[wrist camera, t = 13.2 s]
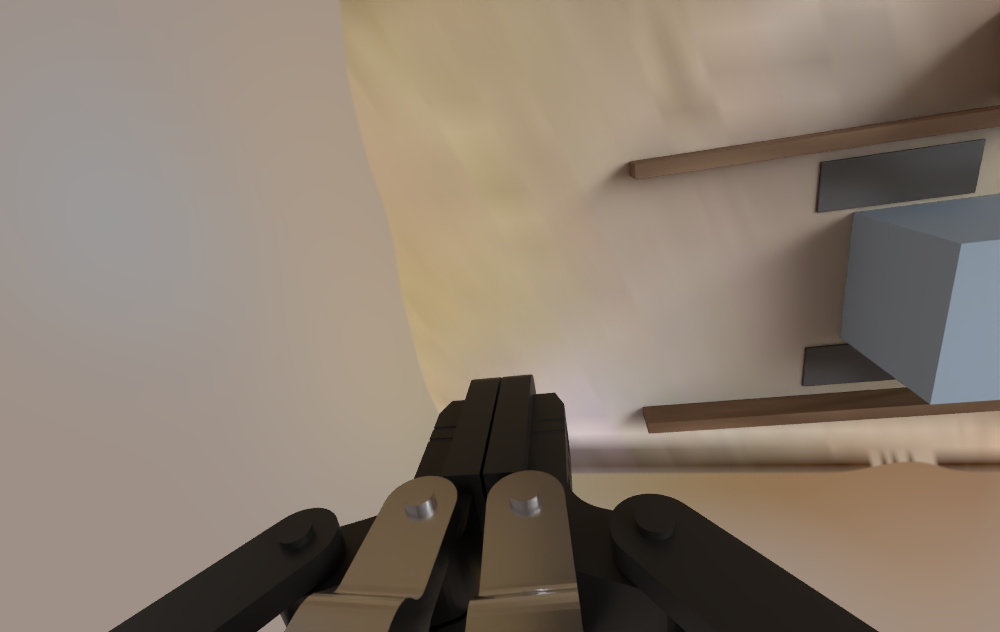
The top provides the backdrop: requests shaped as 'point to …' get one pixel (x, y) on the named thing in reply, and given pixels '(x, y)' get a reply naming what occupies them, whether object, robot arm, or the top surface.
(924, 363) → the slate block
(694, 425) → the tray
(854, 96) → the top surface
